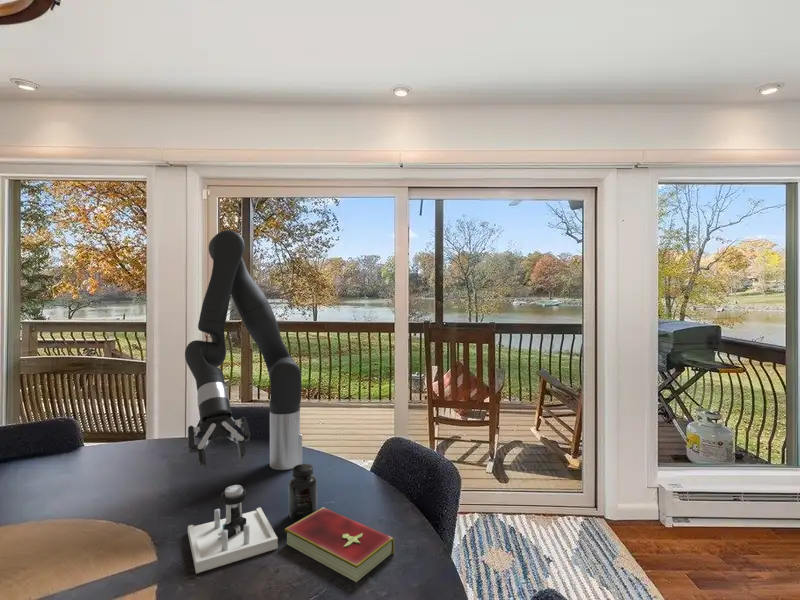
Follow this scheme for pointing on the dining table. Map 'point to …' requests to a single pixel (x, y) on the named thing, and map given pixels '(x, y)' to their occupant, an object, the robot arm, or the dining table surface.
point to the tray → (230, 541)
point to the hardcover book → (340, 543)
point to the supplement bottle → (302, 492)
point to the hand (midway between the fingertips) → (223, 461)
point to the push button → (233, 510)
